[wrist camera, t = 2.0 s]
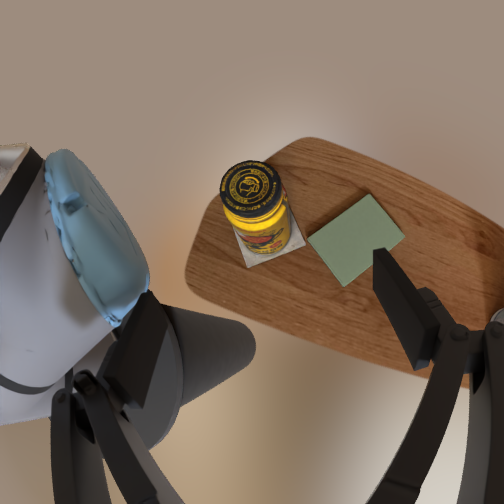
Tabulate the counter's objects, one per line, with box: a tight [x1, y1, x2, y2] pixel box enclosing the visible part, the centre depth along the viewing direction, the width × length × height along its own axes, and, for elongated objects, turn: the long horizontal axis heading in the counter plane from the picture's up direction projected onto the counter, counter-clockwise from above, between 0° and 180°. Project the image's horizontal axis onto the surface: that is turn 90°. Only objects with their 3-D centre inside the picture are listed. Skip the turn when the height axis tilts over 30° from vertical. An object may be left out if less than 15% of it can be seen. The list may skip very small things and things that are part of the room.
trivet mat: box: [307, 194, 405, 287], centre depth 33 cm, size 10×7×1 cm
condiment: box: [220, 160, 306, 268], centre depth 29 cm, size 7×8×12 cm
